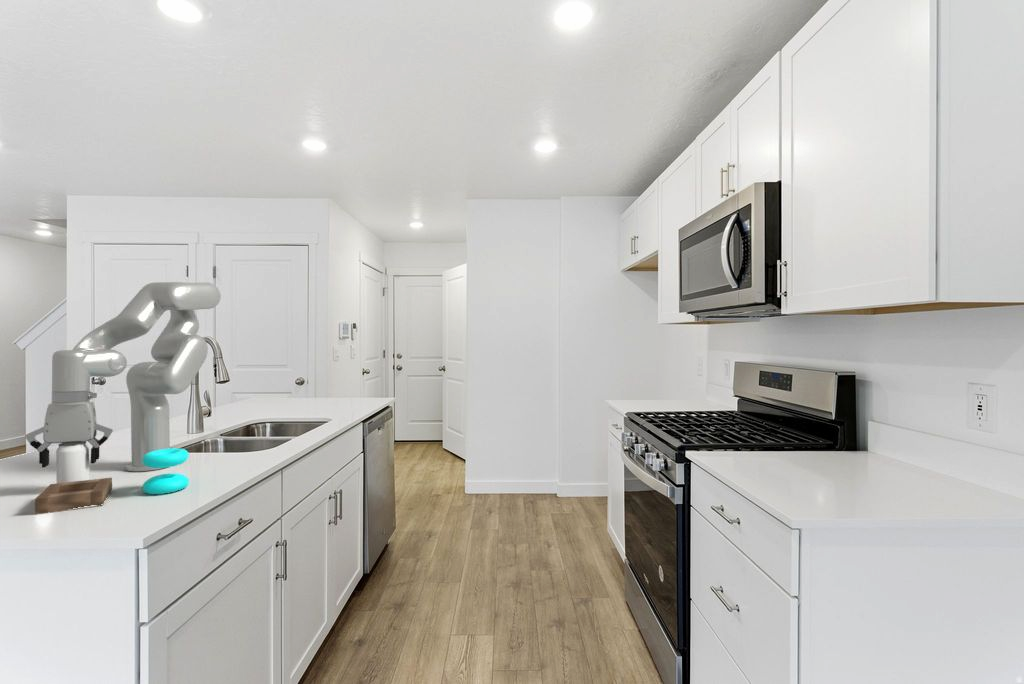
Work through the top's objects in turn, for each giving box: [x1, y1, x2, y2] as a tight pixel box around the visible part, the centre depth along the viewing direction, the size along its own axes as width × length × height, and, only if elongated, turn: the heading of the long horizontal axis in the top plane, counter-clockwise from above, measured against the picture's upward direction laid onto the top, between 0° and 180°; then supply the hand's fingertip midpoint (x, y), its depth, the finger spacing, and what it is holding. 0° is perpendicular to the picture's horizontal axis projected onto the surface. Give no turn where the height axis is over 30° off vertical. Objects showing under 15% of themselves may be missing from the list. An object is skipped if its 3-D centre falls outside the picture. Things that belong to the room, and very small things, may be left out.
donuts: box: [142, 447, 190, 495], centre depth 134 cm, size 10×10×10 cm
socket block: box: [34, 477, 113, 515], centre depth 124 cm, size 12×13×4 cm
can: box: [55, 441, 90, 484], centre depth 134 cm, size 6×6×12 cm
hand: (70, 464), depth 133 cm, fingers open, 9 cm apart
